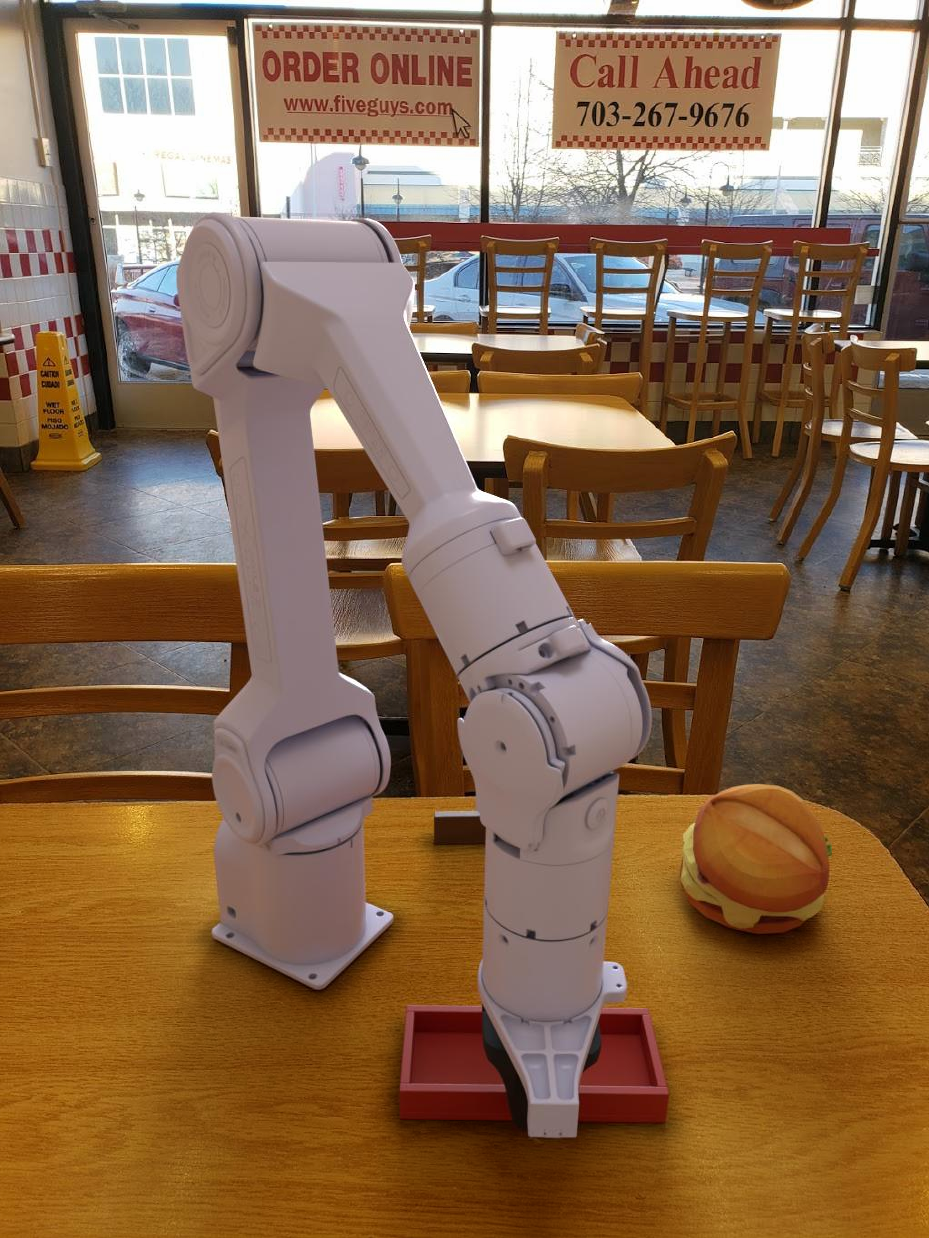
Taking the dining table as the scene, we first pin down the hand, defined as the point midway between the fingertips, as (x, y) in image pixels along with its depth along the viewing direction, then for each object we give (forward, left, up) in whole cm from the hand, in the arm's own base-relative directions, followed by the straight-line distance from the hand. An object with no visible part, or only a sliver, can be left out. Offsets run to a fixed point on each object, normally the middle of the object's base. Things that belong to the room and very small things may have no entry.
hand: (534, 1118), depth 48 cm
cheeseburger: (+4, +25, -1) cm, 25 cm away
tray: (-2, +3, -1) cm, 4 cm away
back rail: (-14, +22, -1) cm, 26 cm away
